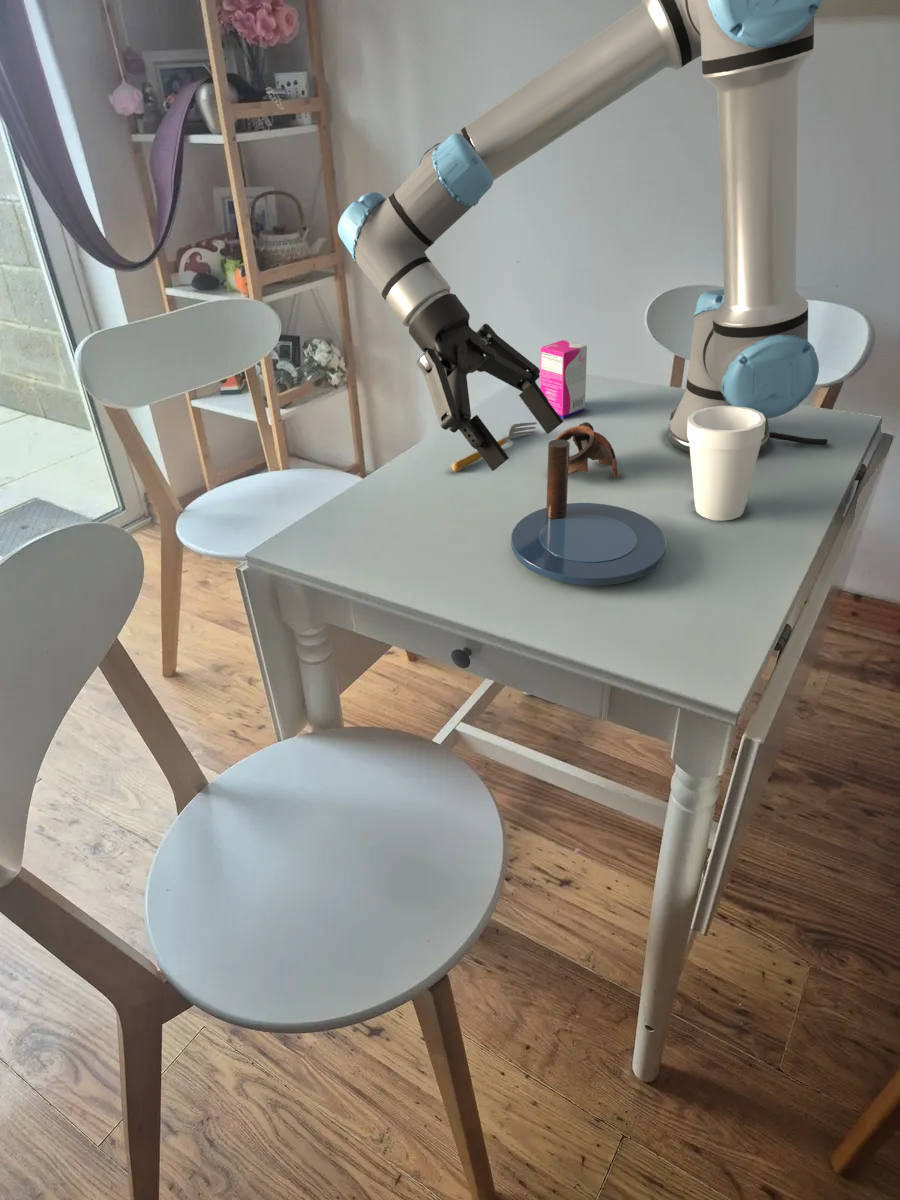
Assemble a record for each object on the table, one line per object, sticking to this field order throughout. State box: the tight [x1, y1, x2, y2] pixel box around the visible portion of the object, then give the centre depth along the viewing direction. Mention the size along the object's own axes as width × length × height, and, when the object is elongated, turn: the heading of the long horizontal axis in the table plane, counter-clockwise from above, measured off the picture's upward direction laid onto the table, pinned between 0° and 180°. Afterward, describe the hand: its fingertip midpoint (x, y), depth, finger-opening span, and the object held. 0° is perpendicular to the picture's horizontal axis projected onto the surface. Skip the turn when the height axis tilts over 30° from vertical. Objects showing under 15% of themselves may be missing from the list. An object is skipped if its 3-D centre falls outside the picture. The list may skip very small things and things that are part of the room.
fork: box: [451, 421, 538, 472], centre depth 129 cm, size 2×2×20 cm
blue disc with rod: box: [510, 439, 667, 586], centre depth 99 cm, size 19×19×11 cm
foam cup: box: [687, 406, 766, 522], centre depth 107 cm, size 10×9×13 cm
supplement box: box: [539, 339, 588, 420], centre depth 140 cm, size 6×6×12 cm
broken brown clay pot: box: [554, 421, 619, 479], centre depth 121 cm, size 12×10×8 cm
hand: (529, 445), depth 104 cm, fingers open, 13 cm apart
